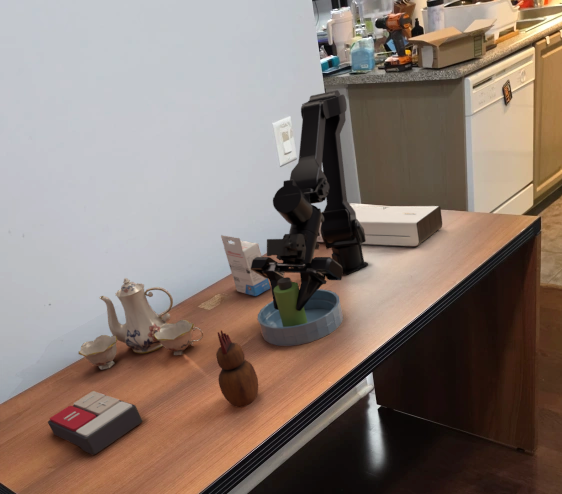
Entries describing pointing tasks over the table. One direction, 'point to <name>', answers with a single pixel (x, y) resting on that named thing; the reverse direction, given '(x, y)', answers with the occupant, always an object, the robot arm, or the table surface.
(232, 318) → the table surface
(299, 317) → the green bottle
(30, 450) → the table surface
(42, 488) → the table surface
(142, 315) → the chinaware
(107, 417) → the calculator
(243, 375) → the wooden figurine
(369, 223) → the laminator
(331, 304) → the basin
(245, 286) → the ink box
